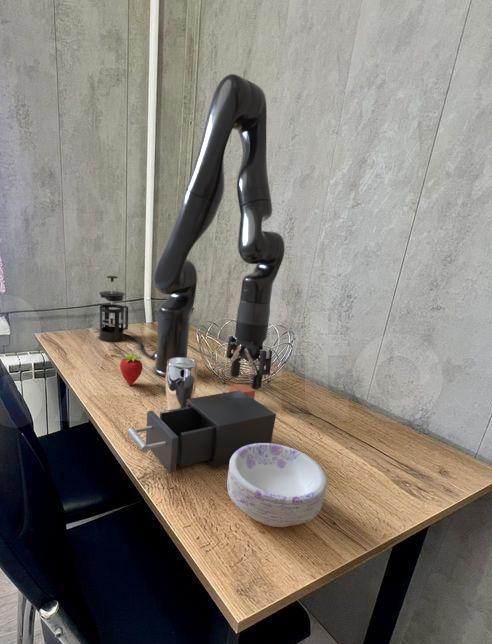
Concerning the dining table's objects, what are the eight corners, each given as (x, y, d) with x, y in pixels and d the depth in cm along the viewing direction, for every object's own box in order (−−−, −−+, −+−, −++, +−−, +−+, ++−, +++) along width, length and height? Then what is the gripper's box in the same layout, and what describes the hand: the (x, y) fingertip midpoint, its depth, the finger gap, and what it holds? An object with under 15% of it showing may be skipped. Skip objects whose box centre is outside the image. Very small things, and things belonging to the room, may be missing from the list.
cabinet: (214, 468, 76) (219, 426, 73) (183, 437, 86) (186, 399, 83) (269, 453, 82) (276, 414, 79) (234, 426, 92) (239, 390, 89)
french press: (103, 343, 144) (103, 278, 135) (93, 336, 151) (92, 274, 143) (132, 339, 150) (134, 277, 142) (121, 333, 157) (122, 273, 149)
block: (227, 401, 104) (229, 385, 102) (242, 399, 106) (244, 383, 104) (238, 409, 100) (240, 392, 98) (253, 406, 102) (255, 390, 100)
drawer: (145, 479, 70) (146, 443, 67) (123, 448, 79) (123, 415, 76) (226, 458, 78) (231, 425, 75) (198, 432, 87) (201, 401, 84)
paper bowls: (259, 553, 57) (268, 509, 54) (208, 489, 70) (212, 450, 67) (338, 527, 63) (350, 485, 60) (278, 472, 76) (285, 435, 73)
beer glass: (190, 432, 88) (196, 369, 83) (159, 427, 89) (163, 365, 84) (194, 418, 94) (200, 358, 89) (166, 414, 96) (169, 355, 90)
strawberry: (135, 378, 115) (136, 345, 111) (146, 388, 109) (147, 353, 105) (115, 380, 112) (116, 347, 109) (125, 391, 106) (126, 356, 103)
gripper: (285, 325, 91) (275, 390, 97) (246, 312, 103) (239, 370, 108) (259, 328, 87) (250, 395, 93) (222, 313, 99) (216, 374, 105)
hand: (244, 382), depth 101 cm, fingers open, 8 cm apart
